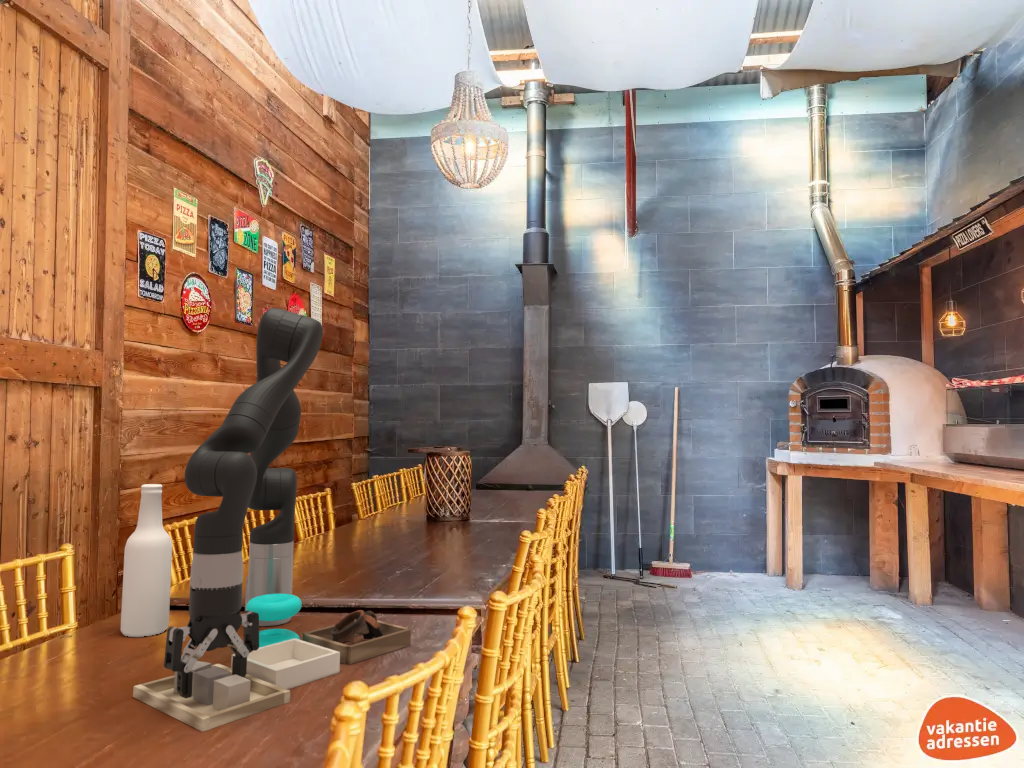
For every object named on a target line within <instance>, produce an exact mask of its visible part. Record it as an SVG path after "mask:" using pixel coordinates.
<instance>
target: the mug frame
mask: <svg viewBox="0 0 1024 768" xmlns="http://www.w3.org/2000/svg"><path fill="white" fill-rule="evenodd" d="M355 621H356V619H355V620H354V622H355ZM354 622H351V623H350V624H348V625H347V626H345V627H344V628H343V629H345V628H347V627H348V626H350V625H351V624H353V623H354ZM377 622H378V623H379V625H380V627H381V630H382V634H383V636H381V637H377V638H375V637H374V638H373V639H366V640H365V641H360V642H357V643H354V644H351V645H349V644H347V643H344V644H342V643H339V642H336V641H332V640H333V636H332V634H331V630H332V629H333V628H335V629H336V630H337V628H336V627H335V624H333V625H329V626H326V627H322V628H317V629H314V630H310V631H305V632H302V641H306V642H309V643H312V644H315V645H319V646H322V647H325V648H328V649H332V650H335V651H338V652H340V663H341V664H344V665H345V664H348V665H353V664H357V663H359V662H362V661H365V660H368V659H372V658H375V657H378V656H381V655H383V654H384V655H385V654H387V653H390V652H393V651H397V650H400V649H405V648H406V647H410V646H411V645H412V643H411V639H412V638H411V637H412V636H411V634H412V633H411V632H412V630H411V629H410V628H409V627H405V626H402V625H398V624H393V623H390V622H386V621H383V620H378V619H377ZM343 629H342V630H343ZM361 635H362V634H358V633H356V632H354V637H358V636H361Z"/></svg>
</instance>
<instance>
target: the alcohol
mask: <svg viewBox="0 0 1024 768" xmlns="http://www.w3.org/2000/svg"><path fill="white" fill-rule="evenodd" d="M140 488H141V491H140V494H141V496H140V503H139V509H138V517H137V518H138V519H137V523H136V528H135V530H134V531H133V532H132V533H131V535H130V536H129V537H128V538H127V540H126V543H125V546H124V552H123V553H124V557H123V573H122V575H123V576H122V593H121V595H122V596H121V610H120V611H121V613H120V632H121V633H122V635H123V636H125V637H127V636H128V637H127V638H145V637H144V636H147V637H152V635H153V636H157V635H156V634H158V635H160V633H161V634H163V633H165V632H164V631H165V630H168V628H169V624H170V602H171V601H170V600H171V583H172V581H171V580H172V563H173V562H172V561H173V560H172V558H173V542H172V538H171V536H170V534H169V533H168V532H167V531H166V530H165V528H164V525H163V505H162V504H163V503H162V502H163V498H162V493H163V490H162V489H163V485H162V484H160V483H159V484H158V483H148V484H146V483H144V484H142V485H140Z"/></svg>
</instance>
